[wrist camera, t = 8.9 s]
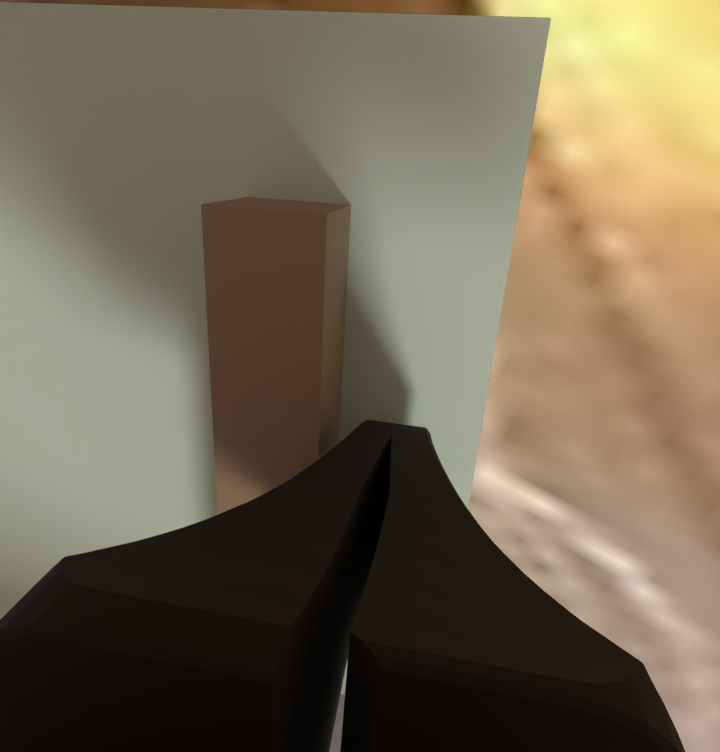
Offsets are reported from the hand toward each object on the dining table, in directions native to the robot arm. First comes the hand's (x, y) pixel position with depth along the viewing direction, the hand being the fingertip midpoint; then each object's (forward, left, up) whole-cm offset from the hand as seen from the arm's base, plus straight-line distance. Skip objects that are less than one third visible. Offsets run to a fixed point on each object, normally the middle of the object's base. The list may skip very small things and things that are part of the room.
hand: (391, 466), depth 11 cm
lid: (0, +5, -2) cm, 6 cm away
